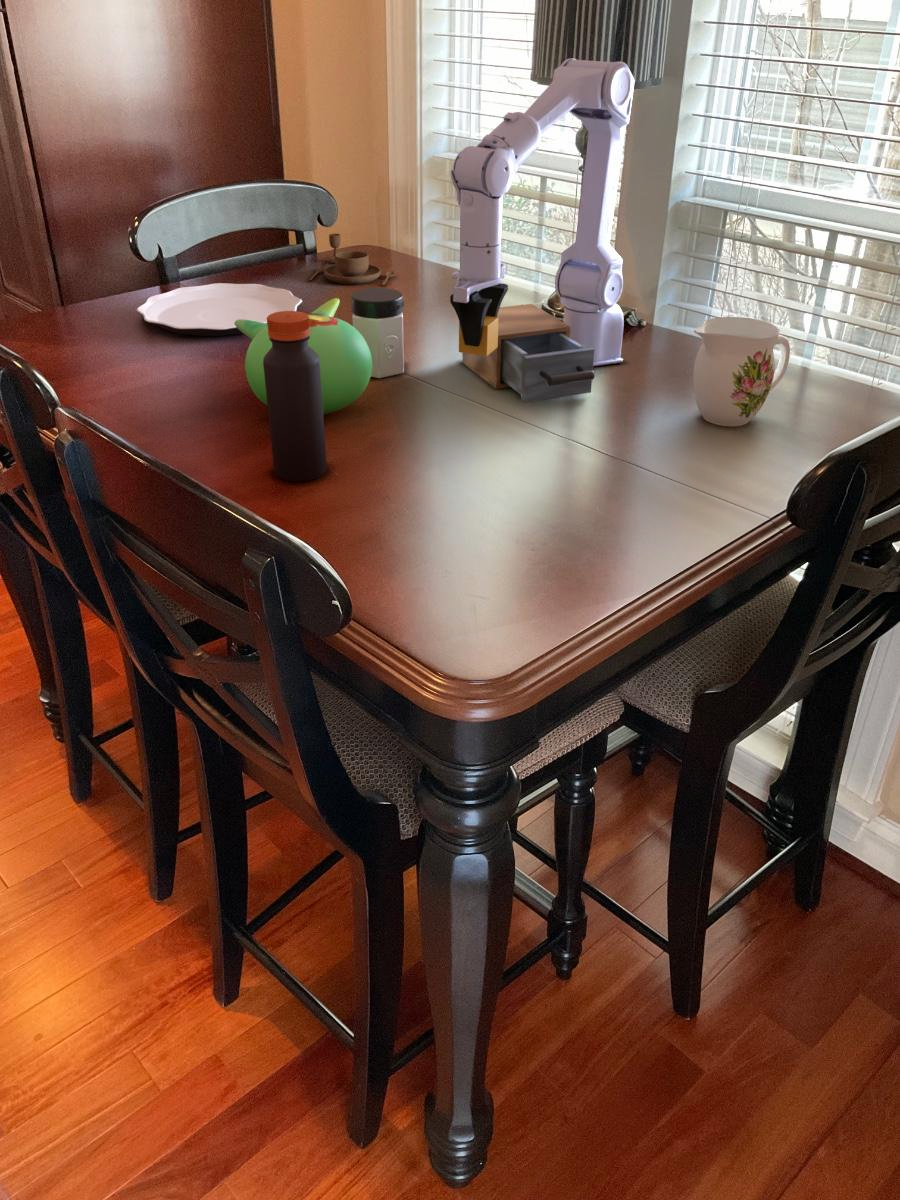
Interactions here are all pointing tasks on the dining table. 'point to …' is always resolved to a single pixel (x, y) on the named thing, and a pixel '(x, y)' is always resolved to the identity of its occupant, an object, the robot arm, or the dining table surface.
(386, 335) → the jar
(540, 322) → the wooden drawer box
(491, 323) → the block
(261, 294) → the plate
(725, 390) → the pitcher
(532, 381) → the grey wooden drawer
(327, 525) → the dining table surface
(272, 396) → the bottle
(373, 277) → the place setting
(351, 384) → the toy bird
